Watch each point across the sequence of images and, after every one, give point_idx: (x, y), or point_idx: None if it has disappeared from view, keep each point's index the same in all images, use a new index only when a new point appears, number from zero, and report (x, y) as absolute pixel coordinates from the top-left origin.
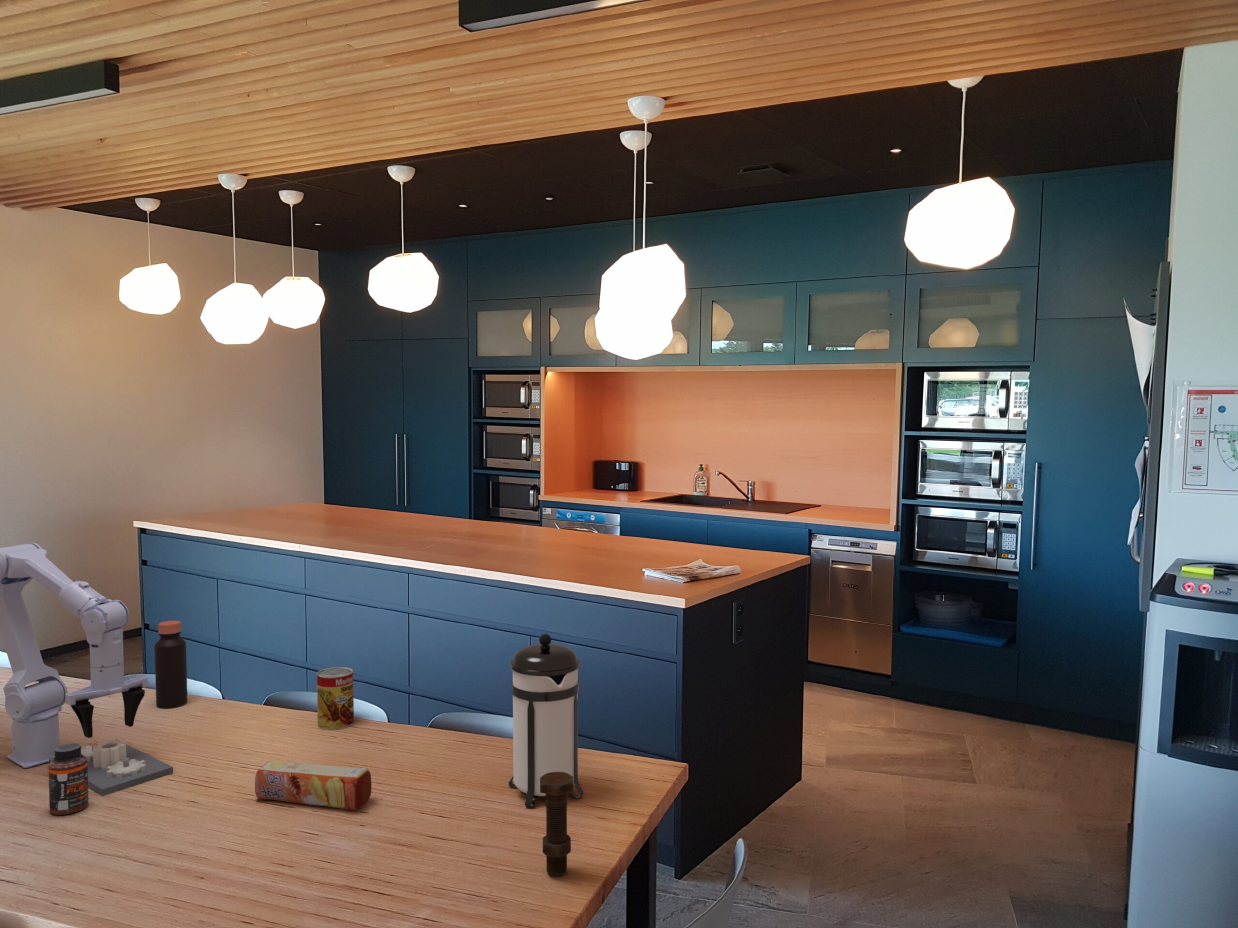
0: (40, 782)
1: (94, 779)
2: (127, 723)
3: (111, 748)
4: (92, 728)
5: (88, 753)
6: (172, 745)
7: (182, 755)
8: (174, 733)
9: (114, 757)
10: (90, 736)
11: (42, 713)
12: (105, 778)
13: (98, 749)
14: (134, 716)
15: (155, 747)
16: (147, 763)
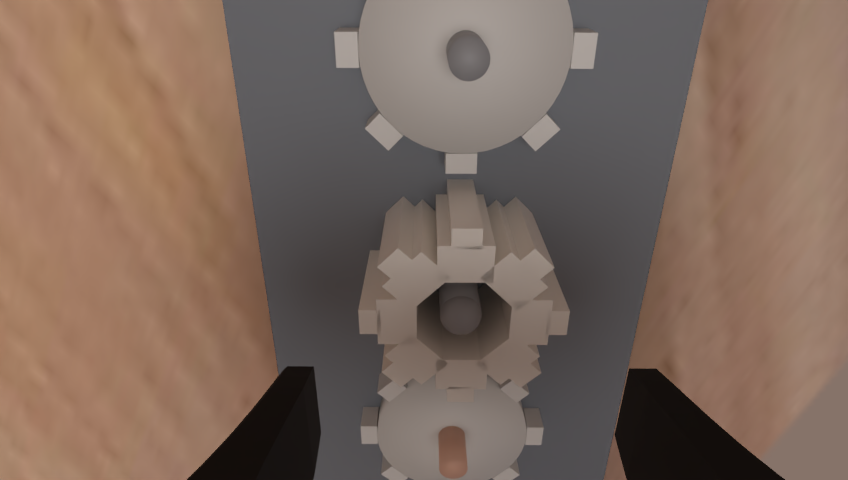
0: (739, 332)
1: (654, 73)
2: (313, 414)
3: (482, 263)
4: (666, 416)
5: (496, 414)
6: (93, 299)
7: (78, 110)
8: (49, 429)
9: (477, 202)
10: (650, 371)
11: None
12: (608, 30)
13: (546, 309)
14: (250, 418)
15: (175, 337)
16: (311, 67)
